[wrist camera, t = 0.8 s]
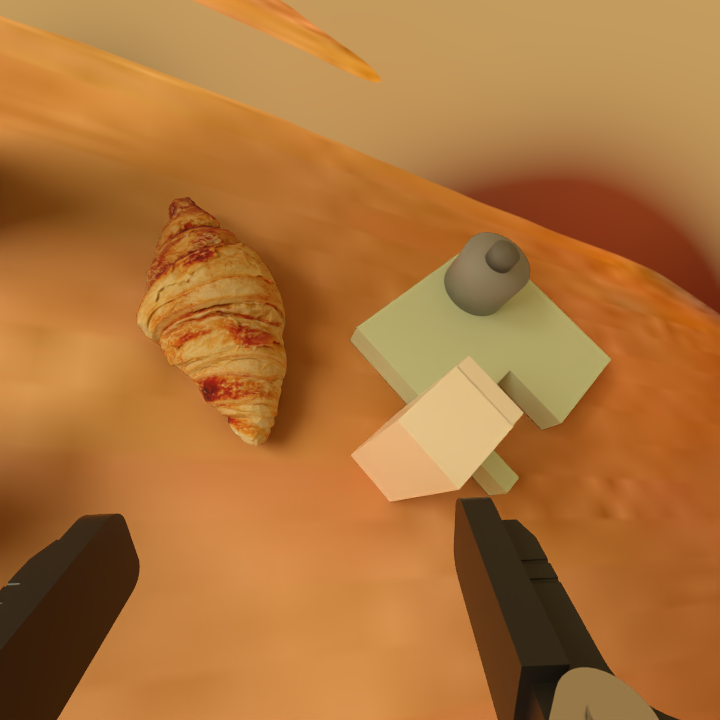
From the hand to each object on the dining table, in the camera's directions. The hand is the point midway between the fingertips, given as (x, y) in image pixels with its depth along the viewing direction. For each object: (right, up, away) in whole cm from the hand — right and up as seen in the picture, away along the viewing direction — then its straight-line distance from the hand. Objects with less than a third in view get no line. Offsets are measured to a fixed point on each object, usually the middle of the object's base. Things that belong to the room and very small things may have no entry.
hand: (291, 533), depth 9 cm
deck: (+13, +5, +26) cm, 30 cm away
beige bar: (+4, -3, +21) cm, 21 cm away
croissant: (-10, +7, +22) cm, 25 cm away
